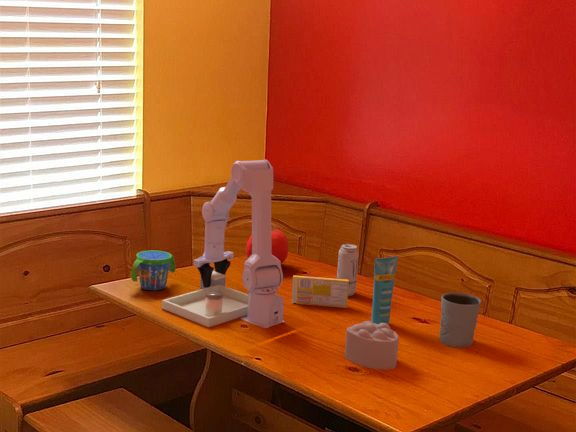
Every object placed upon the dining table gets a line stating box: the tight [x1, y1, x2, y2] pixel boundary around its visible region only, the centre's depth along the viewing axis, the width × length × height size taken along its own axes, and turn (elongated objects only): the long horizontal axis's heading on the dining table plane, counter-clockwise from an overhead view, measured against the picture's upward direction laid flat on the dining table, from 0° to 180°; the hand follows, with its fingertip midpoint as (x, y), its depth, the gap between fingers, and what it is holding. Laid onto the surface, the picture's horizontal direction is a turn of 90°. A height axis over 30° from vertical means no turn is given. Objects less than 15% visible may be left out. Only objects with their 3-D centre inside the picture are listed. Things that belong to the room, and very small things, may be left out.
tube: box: [370, 255, 399, 326], centre depth 228 cm, size 7×5×19 cm, turn 123°
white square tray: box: [161, 284, 249, 328], centre depth 232 cm, size 19×22×3 cm
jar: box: [205, 291, 223, 317], centre depth 225 cm, size 5×5×7 cm
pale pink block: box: [199, 270, 227, 290], centre depth 249 cm, size 6×5×5 cm
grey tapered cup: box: [439, 292, 482, 349], centre depth 219 cm, size 10×10×12 cm
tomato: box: [245, 225, 289, 265], centre depth 273 cm, size 16×14×14 cm
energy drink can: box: [336, 243, 360, 297], centre depth 252 cm, size 6×6×15 cm
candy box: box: [291, 274, 349, 309], centre depth 242 cm, size 16×2×8 cm, turn 84°
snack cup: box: [130, 249, 177, 292], centre depth 248 cm, size 16×10×10 cm
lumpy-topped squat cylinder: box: [344, 320, 400, 370], centre depth 205 cm, size 10×13×9 cm
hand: (212, 285), depth 249 cm, fingers closed on pale pink block, 4 cm apart
